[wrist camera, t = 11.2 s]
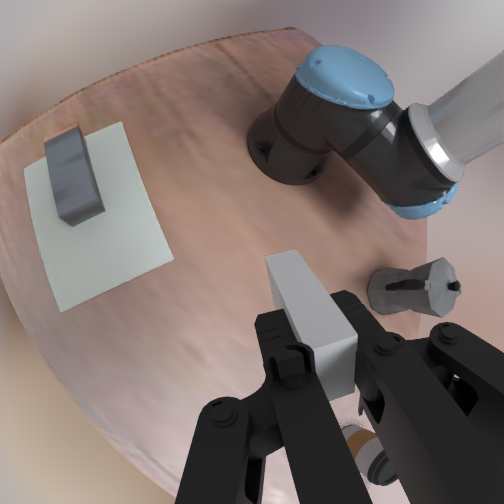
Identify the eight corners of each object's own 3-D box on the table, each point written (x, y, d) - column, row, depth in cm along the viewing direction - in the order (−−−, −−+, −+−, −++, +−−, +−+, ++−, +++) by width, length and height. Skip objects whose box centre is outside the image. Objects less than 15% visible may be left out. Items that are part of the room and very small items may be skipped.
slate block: (72, 227, 36) (55, 155, 36) (106, 211, 38) (85, 140, 38) (58, 217, 30) (43, 138, 30) (96, 198, 32) (76, 121, 32)
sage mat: (24, 170, 34) (23, 169, 34) (121, 122, 41) (121, 121, 40) (61, 312, 34) (60, 313, 33) (174, 259, 40) (174, 259, 40)
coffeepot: (406, 270, 52) (475, 259, 35) (404, 315, 50) (475, 316, 33) (349, 262, 48) (425, 245, 31) (346, 315, 46) (423, 319, 29)
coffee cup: (369, 430, 45) (419, 456, 30) (342, 460, 42) (387, 492, 28) (350, 412, 44) (403, 440, 30) (321, 444, 42) (367, 481, 27)
